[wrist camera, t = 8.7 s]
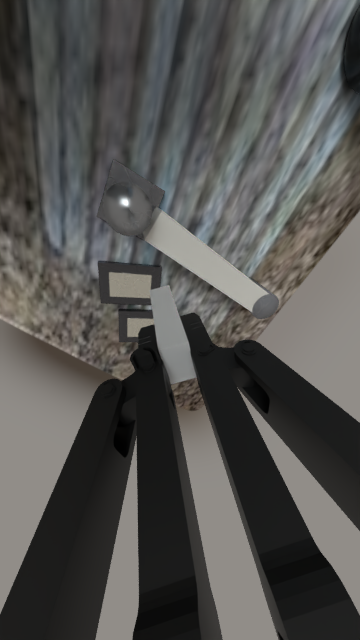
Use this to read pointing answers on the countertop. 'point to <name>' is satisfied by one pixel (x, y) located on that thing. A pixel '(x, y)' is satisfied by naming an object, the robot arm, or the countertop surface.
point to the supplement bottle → (353, 54)
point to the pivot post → (128, 201)
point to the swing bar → (208, 264)
